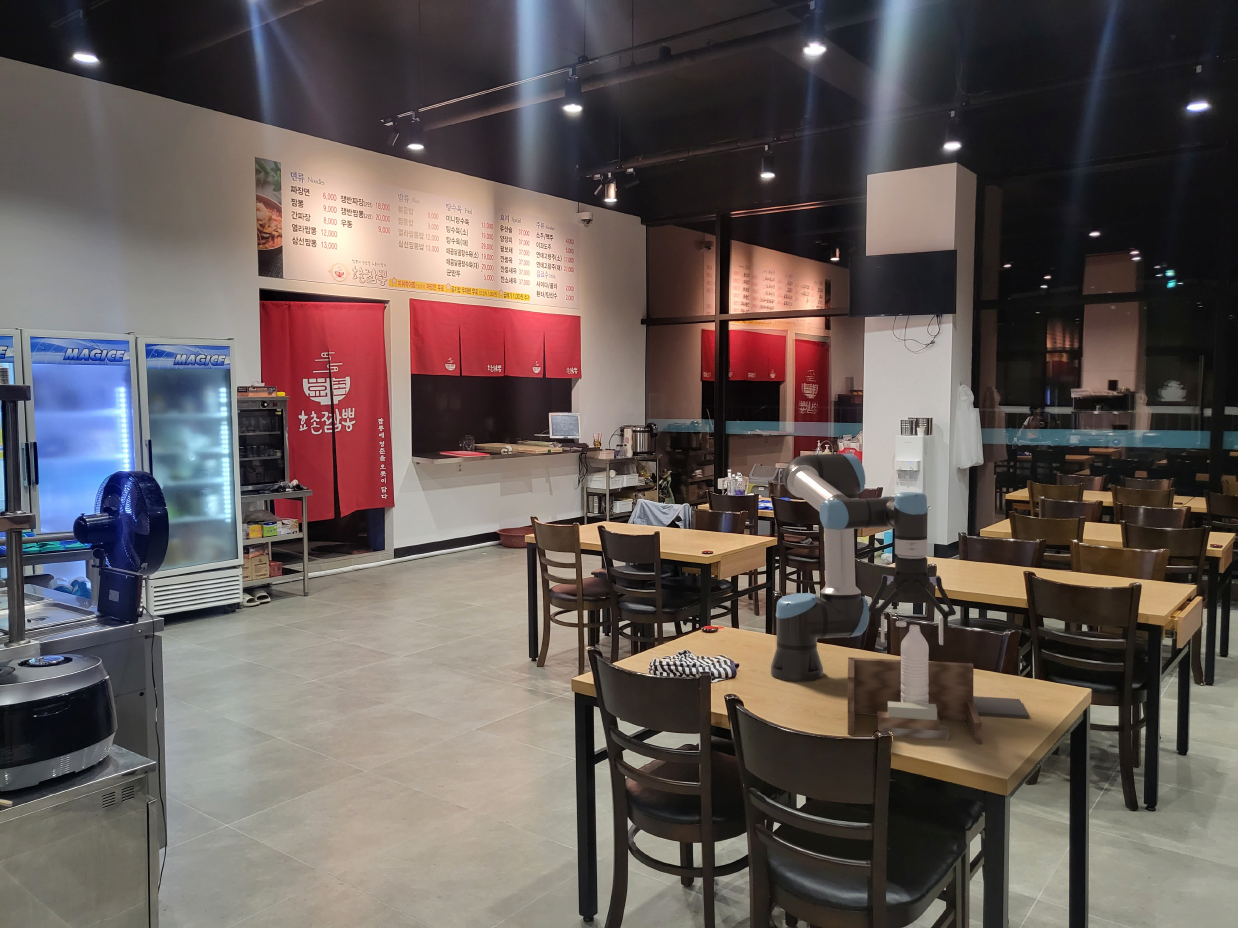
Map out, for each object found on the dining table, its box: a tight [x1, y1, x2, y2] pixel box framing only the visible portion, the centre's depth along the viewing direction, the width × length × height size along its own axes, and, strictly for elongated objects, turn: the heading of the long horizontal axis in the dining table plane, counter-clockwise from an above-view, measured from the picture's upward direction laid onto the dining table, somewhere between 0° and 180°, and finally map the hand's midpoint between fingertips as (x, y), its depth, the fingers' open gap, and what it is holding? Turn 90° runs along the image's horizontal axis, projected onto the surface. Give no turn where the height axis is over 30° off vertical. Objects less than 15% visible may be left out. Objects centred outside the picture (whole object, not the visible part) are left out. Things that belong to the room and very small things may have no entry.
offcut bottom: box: [877, 724, 950, 740], centre depth 214 cm, size 16×4×2 cm, turn 76°
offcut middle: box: [876, 712, 941, 731], centre depth 214 cm, size 14×4×2 cm, turn 78°
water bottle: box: [895, 620, 930, 704], centre depth 220 cm, size 9×6×25 cm
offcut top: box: [888, 701, 937, 720], centre depth 214 cm, size 11×4×2 cm, turn 75°
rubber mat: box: [973, 695, 1030, 719], centre depth 231 cm, size 13×13×1 cm
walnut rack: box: [847, 656, 983, 745], centre depth 219 cm, size 30×18×14 cm, turn 75°
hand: (911, 642), depth 219 cm, fingers open, 13 cm apart
